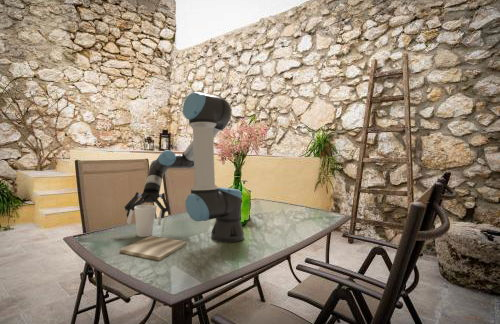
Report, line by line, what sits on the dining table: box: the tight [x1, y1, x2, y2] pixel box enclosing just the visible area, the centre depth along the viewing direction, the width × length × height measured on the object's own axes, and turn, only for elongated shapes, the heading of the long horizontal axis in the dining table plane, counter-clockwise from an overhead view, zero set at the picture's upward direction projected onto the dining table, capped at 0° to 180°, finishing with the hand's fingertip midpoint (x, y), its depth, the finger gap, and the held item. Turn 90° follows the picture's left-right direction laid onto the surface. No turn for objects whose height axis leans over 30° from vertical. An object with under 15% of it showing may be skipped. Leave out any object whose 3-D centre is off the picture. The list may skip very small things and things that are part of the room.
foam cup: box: [133, 204, 157, 238], centre depth 124 cm, size 10×9×13 cm
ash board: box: [119, 235, 188, 261], centre depth 108 cm, size 18×18×1 cm
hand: (143, 223), depth 121 cm, fingers open, 13 cm apart
